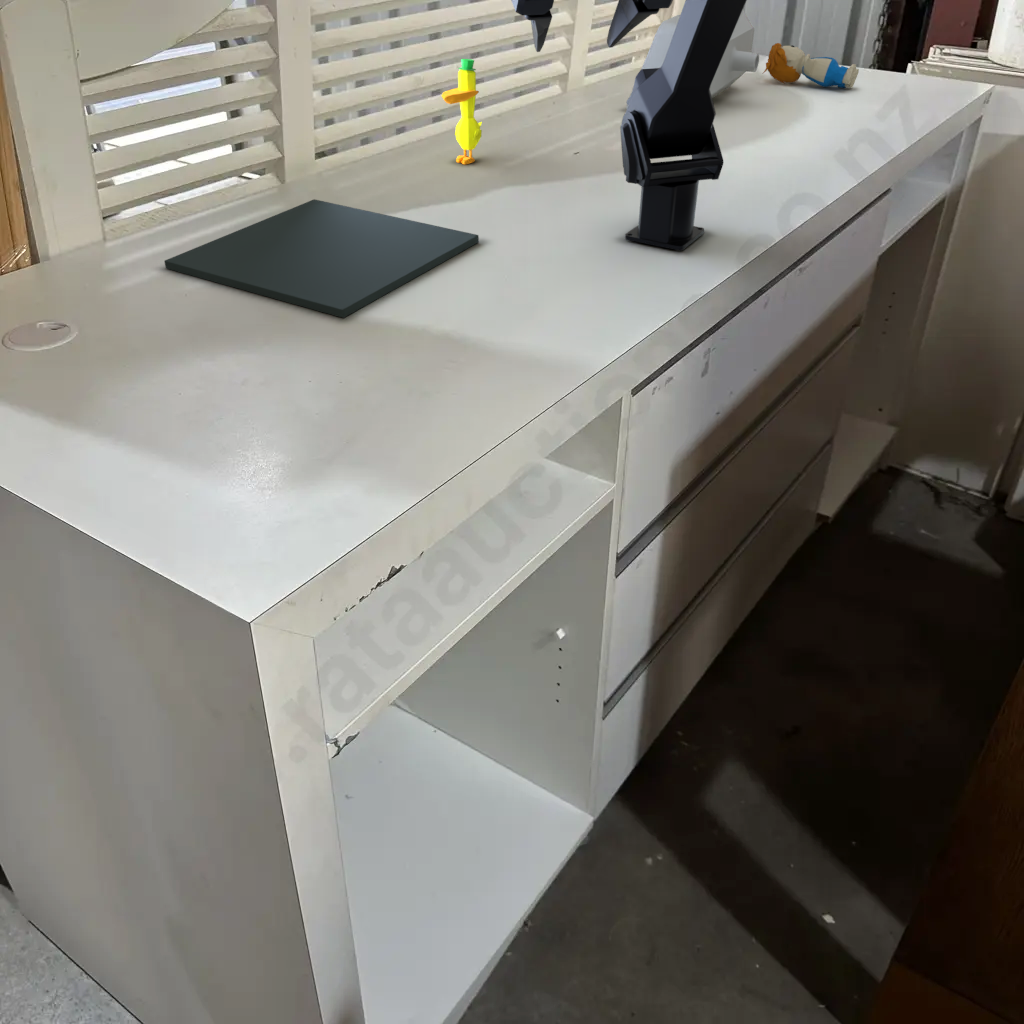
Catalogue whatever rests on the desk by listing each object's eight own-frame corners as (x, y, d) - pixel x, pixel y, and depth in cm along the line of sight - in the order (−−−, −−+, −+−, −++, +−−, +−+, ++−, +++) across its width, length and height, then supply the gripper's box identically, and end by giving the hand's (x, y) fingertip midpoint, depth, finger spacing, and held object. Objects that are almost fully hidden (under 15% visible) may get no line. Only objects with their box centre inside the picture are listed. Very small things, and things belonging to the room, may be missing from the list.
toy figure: (456, 170, 119) (453, 66, 112) (435, 164, 121) (431, 62, 114) (492, 159, 123) (491, 57, 116) (472, 153, 125) (470, 54, 118)
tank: (726, 124, 138) (739, 29, 131) (623, 111, 144) (630, 19, 137) (771, 90, 156) (784, 5, 149) (677, 80, 162) (686, -3, 155)
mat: (343, 318, 83) (342, 309, 83) (165, 268, 92) (163, 260, 92) (478, 242, 99) (478, 234, 98) (314, 206, 108) (314, 198, 107)
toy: (854, 50, 149) (764, 30, 155) (839, 91, 151) (751, 69, 157) (864, 68, 160) (779, 48, 165) (850, 106, 162) (766, 85, 167)
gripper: (664, -131, 104) (624, -5, 118) (502, -130, 99) (480, 2, 113) (698, -61, 100) (653, 61, 114) (531, -56, 95) (505, 71, 110)
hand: (573, 47), depth 113 cm, fingers open, 9 cm apart
